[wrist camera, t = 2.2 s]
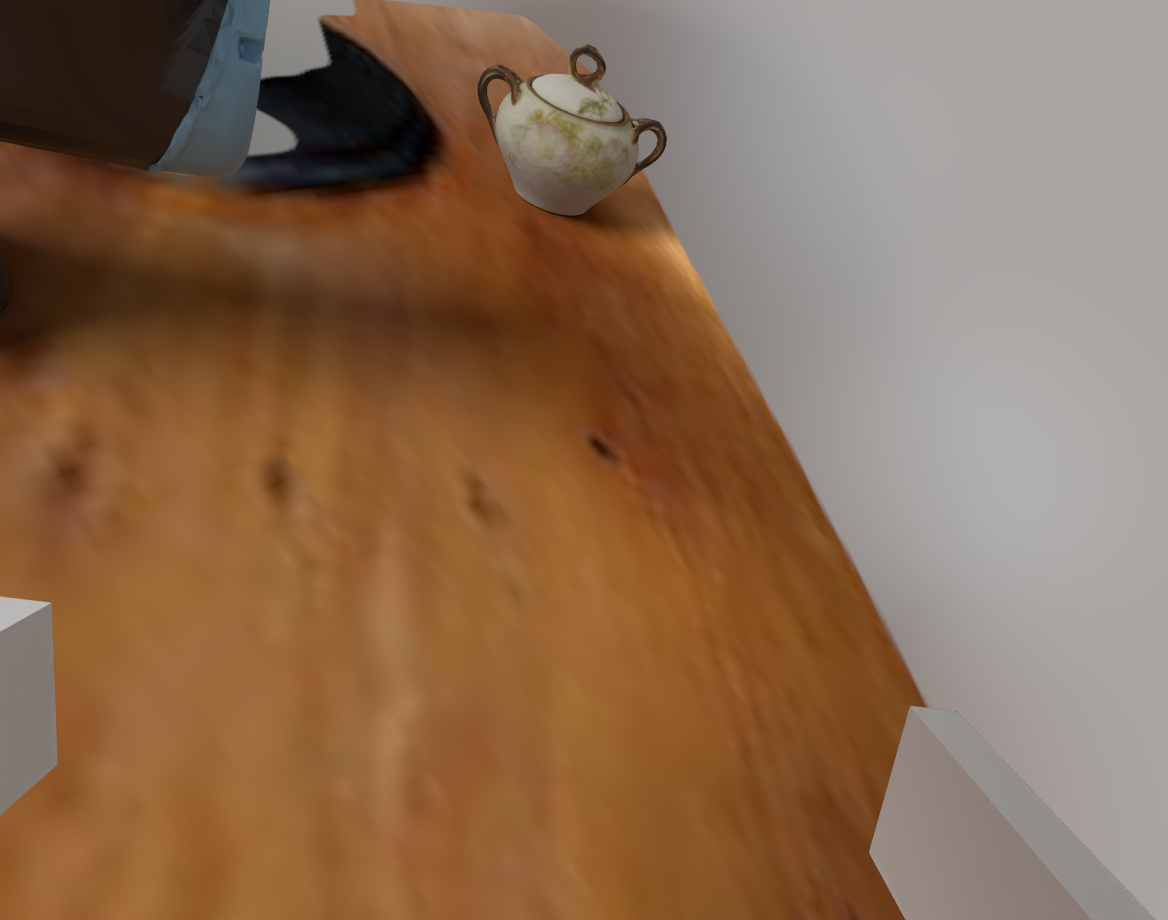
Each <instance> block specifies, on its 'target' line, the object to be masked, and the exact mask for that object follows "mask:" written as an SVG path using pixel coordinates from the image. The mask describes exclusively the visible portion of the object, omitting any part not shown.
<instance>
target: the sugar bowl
mask: <svg viewBox="0 0 1168 920" xmlns="http://www.w3.org/2000/svg"><path fill="white" fill-rule="evenodd" d="M581 55H588V56H590V57H592V58H593V59H594V60H595V61H596V62H597V66H598V68H597V71H596V72H594V73H592V74H588V75H581V74H579V73H578V72H577V70H576V60H577V58H578V57H579V56H581ZM605 70H606V66H605V62H604V60H603V58H602V56H601V55H600V54H599V52H598V51H597V49H596V48H595V47H593V46H590V45H584V46H581V47H579V48H576V49H575V50H574V51H573V53H572V54H571V56H570V60H569V68H568V73H569V74H567V75H564V74H549V75H539V76H532V77H530V78H528V79H527V81H526V82H523V81H522V80H521V79H520V78H519V77H518V76H517V74H516V73H514V72H513V71H511V70H509V69H508V68H506V67H504V66H501V65H495V66H492V67H490V68H488V69H486V70H485V71H484V72H483V74H482V75H481V77H480V80H479V83H478V97H479V101H480V104H481V106H482V109H483V111H484V113H485V115H486V117H487V119H488V121H489V124H490V127H491V129H492V132H493V136H494V138H495V140H496V143H497V145H498V146H499V148H500V150H501V153H502V155H503V158H504V161H505V163H506V165H507V167H508V170H509V172H510V175H511V177H512V181H513V184H514V188H515V190H516V192H517V193H518V194H519V195H520V196H521V197H522V198H523V199H525V200H526V201H528V202H529V203H531V204H533V205H534V206H536V207H538V208H541V209H543V210H546V211H549V212H552V213H556V214H560V215H568V216H572V215H581V214H583V213H585V212H586V211H587V210H588V209H590V208H591V207H592V206H593V205H595V204H596V203H598V202H599V201H601V200H602V199H604V198H605V197H607V196H608V195H610V194H611V193H612V192H614V191H615V190H616V189H617V188H619V187H620V186H621V185H623V184H625V183H626V182H627V181H628V180H629V179H630V178H631V177H632V176H634V175H635V174H636V173H638V172H639V171H641V170H642V169H644V168H646V167H647V166H649V165H651V164H652V163H653V162H655V161H656V160H657V159H658V158H659V157H660V156H661V154H662V153H663V151H664V149H665V147H666V139H667V137H666V133H665V130H664V128H663V126H662V125H661V124H660V122H658V121H655V120H651V119H642V118H641V119H632V118H630V116H629V114H628V112H627V111H626V110H625V109H624V108H623V107H622V106H621V105H620V104H619V103H618V102H616V101H615V100H614V99H613V98H612V97H611V96H610V95H609V94H608V93H607V92H606V91H605V90H603V89H602V88H600V87H598V86H597V85H596V83H597V82H598V81H600V80H601V79H602V77H603V75H604V73H605ZM493 79H501V80H504V81H506V82H507V83H508V84H509V86H510V88H511V91H510V92H509V93H508V95H507V96H506V97H505V98H504V100H503V101H502V103H501V105H500V107H499V110H498V113H497V115H495V114H494V112H493V110H492V108H491V106H490V103H489V100H488V96H487V86H488V84H489V82H490V81H491V80H493ZM646 130H651V131H653V132H654V133H655V134H656V135H657V138H658V142H657V146H656V148H655V149H654V151H653V152H652V153H651V155H650V156H648V157H647V158H646V159H644V160H643V161H641V162H639V163H637V159H638V137H639V135H640V134H641V133H642V132H643V131H646Z"/></svg>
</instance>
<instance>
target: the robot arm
mask: <svg viewBox="0 0 1168 920" xmlns="http://www.w3.org/2000/svg"><path fill="white" fill-rule="evenodd" d="M269 5H270V0H0V141H2V142H7V143H12V144H17V145H22V146H27V147H32V148H37V149H42V150H47V151H52V152H57V153H62V154H67V155H72V156H77V157H82V158H87V159H92V160H97V161H101V162H106V163H111V164H116V165H121V166H126V167H131V168H136V169H141V170H144V171H147V172H149V173H161V172H164V171H166V172H174V173H181V174H189V175H197V176H205V177H214V178H215V177H223V176H227V175H230V174H232V173H234V172H235V171H237V170H238V169H239V168H240V167H241V166H242V164H243V163H244V161H245V159H246V157H247V154H248V151H249V146H250V141H251V137H252V132H253V127H254V121H255V115H256V108H257V101H258V94H259V87H260V78H261V69H262V52H263V50H264V43H265V33H266V29H267V23H268V14H269ZM10 288H11V281H10V275H9V272H8V268H7V265H6V261H5V258H4V254H3V251H2V247H1V245H0V311H1V310H2V309H3V307H4V305H5V304H6V302H7V299H8V297H9V294H10ZM56 765H57V739H56V713H55V687H54V660H53V634H52V608H51V603H49V602H40V601H32V600H24V599H15V598H7V597H0V815H1V814H2V813H3V812H4V811H5V810H6V809H7V808H9V807H10V806H11V805H12V804H13V803H14V802H15V801H17V800H18V799H19V798H20V797H21V796H22V795H23V794H24V793H26V792H27V791H28V790H29V789H30V788H31V787H32V786H33V785H35V784H36V783H37V782H38V781H39V780H40V779H41V778H43V777H44V776H45V775H46V774H47V773H48V772H49V771H50V770H52V769H53V768H54V767H55V766H56ZM869 854H870V855H871V857H872V859H873V861H874V863H875V865H876V866H877V868H878V870H879V872H880V874H881V876H882V877H883V879H884V881H885V883H886V885H887V887H888V888H889V890H890V892H891V894H892V896H893V898H894V900H895V901H896V903H897V905H898V907H899V909H900V911H901V912H902V914H903V916H904V918H905V920H1156V919H1155V918H1154V917H1152V915H1151V914H1150V913H1149V912H1148V911H1147V910H1146V909H1145V908H1144V907H1143V906H1142V905H1141V904H1140V903H1139V902H1138V901H1137V900H1136V899H1135V897H1133V895H1132V894H1131V893H1130V892H1129V891H1128V890H1127V889H1126V888H1125V887H1124V886H1123V885H1122V884H1121V883H1120V882H1119V881H1118V880H1117V879H1116V878H1115V877H1114V875H1113V874H1112V873H1111V872H1110V871H1109V870H1108V869H1107V868H1106V867H1105V866H1104V865H1103V864H1102V863H1101V862H1100V861H1099V860H1098V859H1097V858H1096V857H1095V855H1093V853H1092V852H1091V851H1090V850H1089V849H1088V848H1087V847H1086V846H1085V845H1084V844H1083V843H1082V842H1081V841H1080V840H1079V839H1078V838H1077V837H1076V836H1075V835H1074V834H1073V833H1072V831H1071V830H1070V829H1069V828H1068V827H1067V826H1066V825H1065V824H1064V823H1063V822H1062V821H1061V820H1060V819H1059V818H1058V817H1057V816H1056V815H1055V814H1054V812H1053V811H1052V810H1051V809H1050V808H1049V807H1048V806H1047V805H1046V804H1045V803H1044V802H1043V801H1042V800H1041V799H1040V798H1039V797H1038V796H1037V795H1036V794H1035V793H1034V792H1033V791H1032V789H1031V788H1030V787H1029V786H1028V785H1027V784H1026V783H1025V782H1024V781H1023V780H1022V779H1021V778H1020V777H1019V776H1018V775H1017V774H1016V773H1015V772H1014V771H1013V770H1012V768H1010V766H1009V765H1008V764H1007V763H1006V762H1005V761H1003V759H1002V758H1001V757H1000V756H999V755H998V754H997V753H996V752H995V751H994V750H993V749H992V747H991V746H990V745H989V744H988V743H987V742H986V741H985V740H984V739H983V738H982V737H981V736H980V735H979V734H978V733H977V732H976V731H975V730H974V729H973V728H972V727H971V725H970V724H969V723H968V722H967V721H966V720H965V719H964V718H963V717H962V716H961V715H960V714H959V713H958V712H957V711H949V710H941V709H933V708H924V707H916V706H910V708H909V712H908V715H907V719H906V722H905V726H904V730H903V733H902V737H901V740H900V744H899V747H898V751H897V755H896V758H895V762H894V765H893V769H892V772H891V776H890V780H889V783H888V787H887V790H886V794H885V797H884V801H883V805H882V808H881V812H880V815H879V819H878V822H877V826H876V830H875V833H874V837H873V840H872V844H871V847H870V851H869Z"/></svg>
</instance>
